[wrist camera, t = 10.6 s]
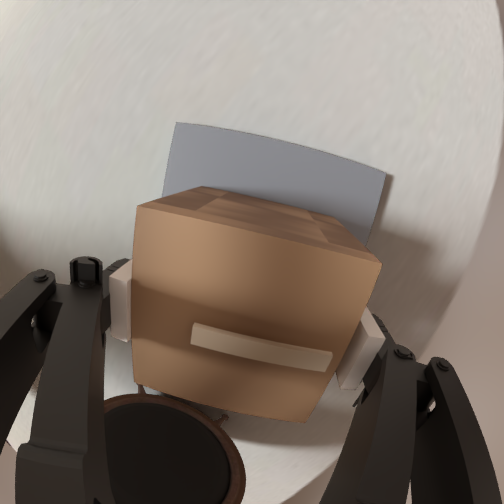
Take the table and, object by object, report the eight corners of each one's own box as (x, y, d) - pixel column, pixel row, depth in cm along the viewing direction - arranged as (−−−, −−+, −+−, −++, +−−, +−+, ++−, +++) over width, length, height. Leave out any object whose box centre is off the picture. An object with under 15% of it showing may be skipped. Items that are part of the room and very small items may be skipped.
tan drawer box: (183, 303, 18) (132, 385, 10) (201, 186, 16) (133, 207, 8) (297, 330, 18) (305, 427, 10) (334, 217, 16) (385, 266, 8)
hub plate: (154, 325, 20) (122, 374, 15) (181, 124, 16) (139, 107, 10) (313, 361, 20) (323, 418, 15) (380, 172, 16) (428, 178, 10)
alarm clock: (259, 410, 23) (243, 608, 4) (233, 442, 25) (210, 597, 6) (114, 352, 22) (6, 522, 3) (110, 394, 24) (35, 533, 5)
